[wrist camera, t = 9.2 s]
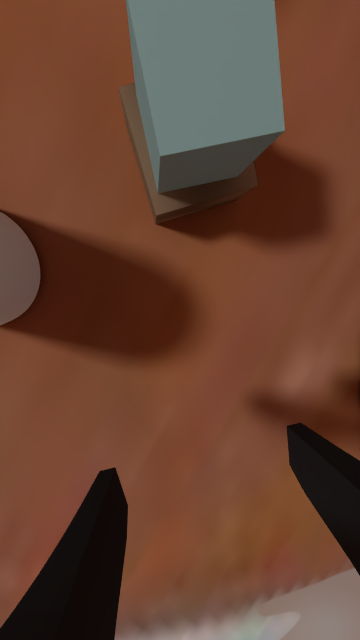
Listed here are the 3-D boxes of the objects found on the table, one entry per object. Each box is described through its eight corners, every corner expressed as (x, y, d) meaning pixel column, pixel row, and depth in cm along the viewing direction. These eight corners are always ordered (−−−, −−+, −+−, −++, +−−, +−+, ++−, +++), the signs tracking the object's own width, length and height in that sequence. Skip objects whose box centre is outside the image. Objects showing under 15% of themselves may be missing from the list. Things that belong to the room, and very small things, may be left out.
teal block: (223, 78, 12) (270, -42, 7) (237, 176, 13) (284, 130, 8) (136, 94, 12) (124, -17, 7) (157, 193, 13) (160, 156, 8)
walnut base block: (215, 103, 16) (235, 54, 12) (234, 200, 17) (258, 184, 13) (127, 129, 15) (118, 87, 12) (155, 224, 17) (156, 215, 13)
